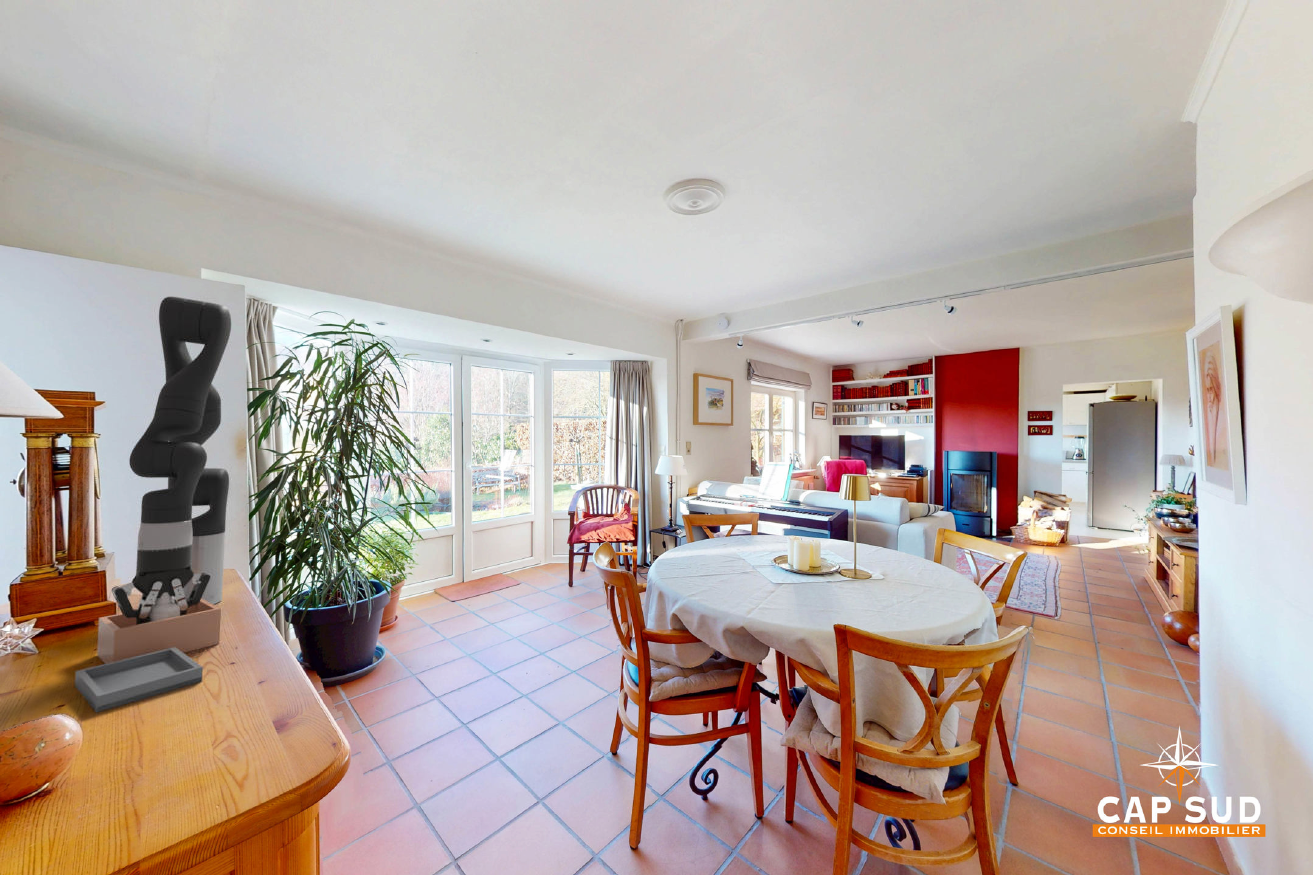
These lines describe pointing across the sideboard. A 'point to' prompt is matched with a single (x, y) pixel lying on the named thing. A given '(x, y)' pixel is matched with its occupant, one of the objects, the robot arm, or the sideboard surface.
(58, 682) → the sideboard surface
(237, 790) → the sideboard surface
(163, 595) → the eye dropper bottle
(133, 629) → the open clay trough
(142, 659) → the charcoal tray
